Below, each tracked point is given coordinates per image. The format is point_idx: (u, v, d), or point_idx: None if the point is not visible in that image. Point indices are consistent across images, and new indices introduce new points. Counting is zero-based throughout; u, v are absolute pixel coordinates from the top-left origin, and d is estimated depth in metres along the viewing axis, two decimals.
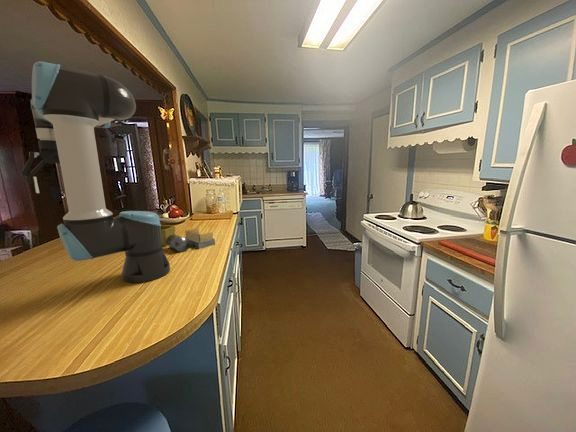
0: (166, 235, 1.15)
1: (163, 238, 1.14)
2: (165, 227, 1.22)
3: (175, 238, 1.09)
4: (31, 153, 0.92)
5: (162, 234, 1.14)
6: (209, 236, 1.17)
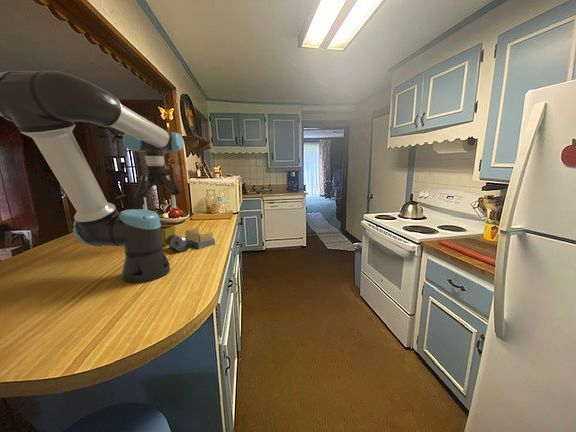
0: (166, 235, 1.15)
1: (163, 238, 1.14)
2: (165, 227, 1.22)
3: (175, 238, 1.09)
4: (143, 177, 1.07)
5: (162, 234, 1.13)
6: (209, 236, 1.17)
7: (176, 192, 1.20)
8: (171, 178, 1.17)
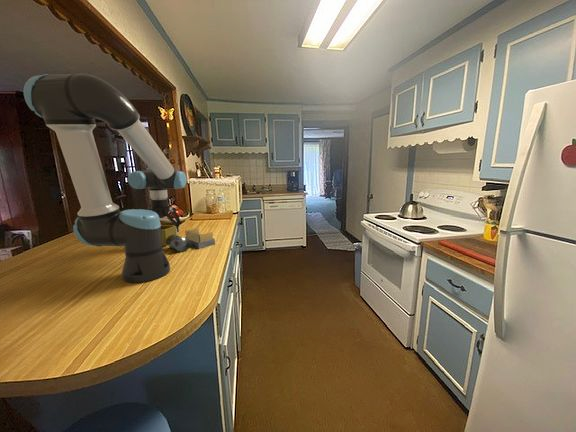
0: (166, 235, 1.15)
1: (163, 238, 1.14)
2: (165, 227, 1.22)
3: (175, 238, 1.09)
4: None
5: (162, 234, 1.13)
6: (209, 236, 1.17)
7: (178, 223, 1.23)
8: (174, 210, 1.20)
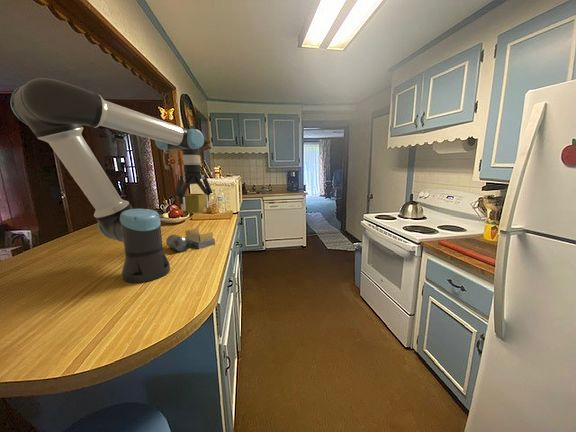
0: (199, 201, 1.12)
1: (196, 204, 1.12)
2: None
3: (175, 238, 1.09)
4: (181, 177, 1.08)
5: (195, 200, 1.11)
6: (209, 236, 1.17)
7: (208, 192, 1.21)
8: (205, 177, 1.18)
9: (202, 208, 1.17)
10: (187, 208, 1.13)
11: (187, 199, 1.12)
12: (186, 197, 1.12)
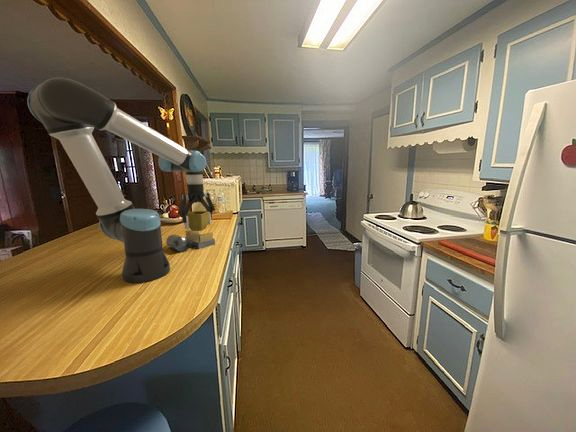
0: (202, 220, 1.14)
1: (199, 223, 1.14)
2: (199, 213, 1.21)
3: (175, 238, 1.09)
4: (184, 196, 1.10)
5: (198, 219, 1.13)
6: (209, 236, 1.17)
7: (211, 209, 1.22)
8: (208, 195, 1.20)
9: (205, 226, 1.19)
10: (190, 226, 1.15)
11: (190, 218, 1.14)
12: (189, 216, 1.13)
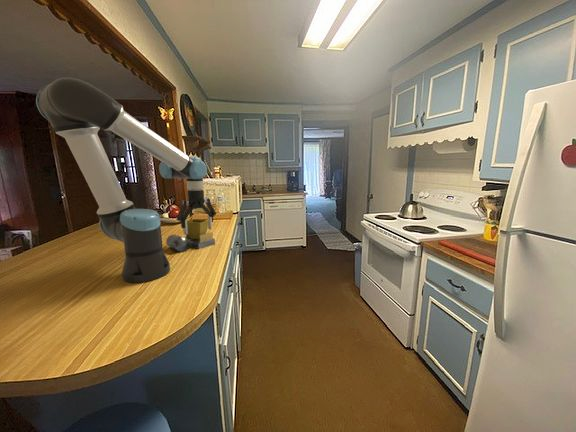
0: (201, 228, 1.15)
1: (198, 231, 1.14)
2: (198, 221, 1.22)
3: (175, 238, 1.09)
4: (185, 202, 1.10)
5: (197, 227, 1.14)
6: (209, 236, 1.17)
7: (212, 214, 1.23)
8: (209, 201, 1.20)
9: None
10: (188, 234, 1.15)
11: (189, 226, 1.14)
12: (188, 224, 1.14)
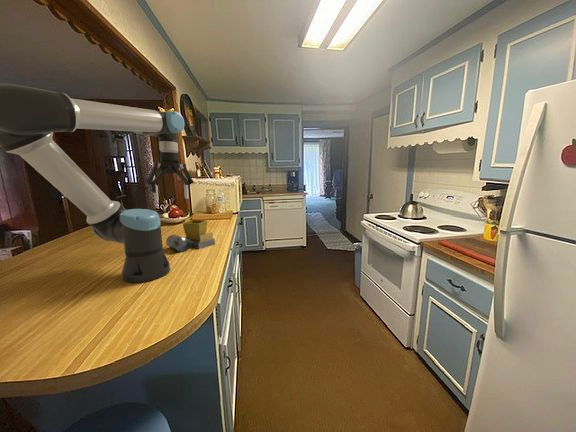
0: (200, 229, 1.14)
1: (197, 232, 1.14)
2: (197, 221, 1.21)
3: (175, 238, 1.09)
4: (156, 164, 1.00)
5: (196, 228, 1.13)
6: (209, 236, 1.17)
7: (189, 182, 1.13)
8: (185, 167, 1.10)
9: None
10: (188, 235, 1.15)
11: (188, 227, 1.14)
12: (187, 225, 1.14)
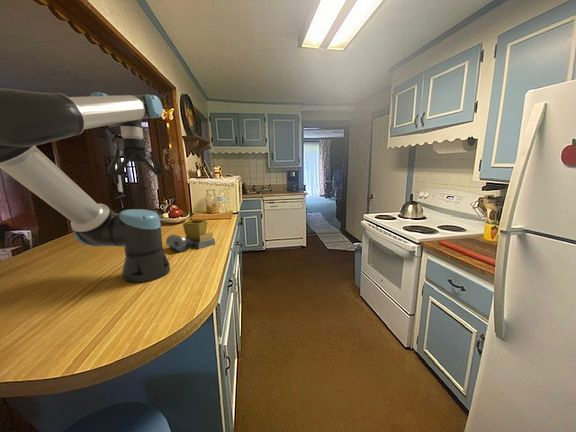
0: (200, 229, 1.14)
1: (197, 232, 1.14)
2: (197, 221, 1.21)
3: (175, 238, 1.09)
4: (117, 151, 0.92)
5: (196, 228, 1.13)
6: (209, 236, 1.17)
7: (158, 171, 1.05)
8: (152, 155, 1.01)
9: None
10: (188, 235, 1.15)
11: (188, 227, 1.14)
12: (187, 225, 1.14)
